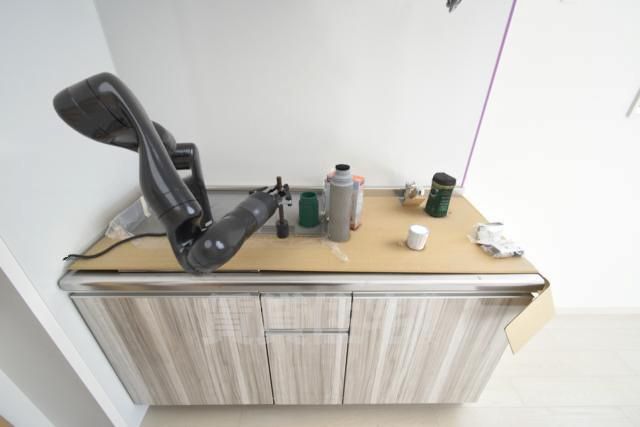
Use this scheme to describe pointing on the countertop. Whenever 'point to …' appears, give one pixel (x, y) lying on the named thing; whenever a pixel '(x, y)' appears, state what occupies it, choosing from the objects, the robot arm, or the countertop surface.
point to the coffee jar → (440, 194)
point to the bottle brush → (281, 218)
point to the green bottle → (308, 209)
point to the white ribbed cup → (417, 236)
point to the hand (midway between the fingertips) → (283, 186)
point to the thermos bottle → (340, 203)
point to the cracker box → (356, 199)
